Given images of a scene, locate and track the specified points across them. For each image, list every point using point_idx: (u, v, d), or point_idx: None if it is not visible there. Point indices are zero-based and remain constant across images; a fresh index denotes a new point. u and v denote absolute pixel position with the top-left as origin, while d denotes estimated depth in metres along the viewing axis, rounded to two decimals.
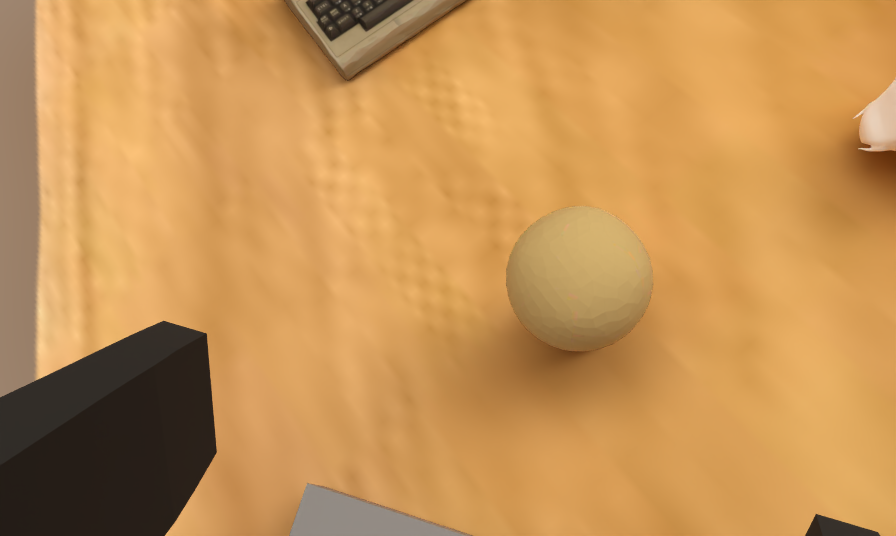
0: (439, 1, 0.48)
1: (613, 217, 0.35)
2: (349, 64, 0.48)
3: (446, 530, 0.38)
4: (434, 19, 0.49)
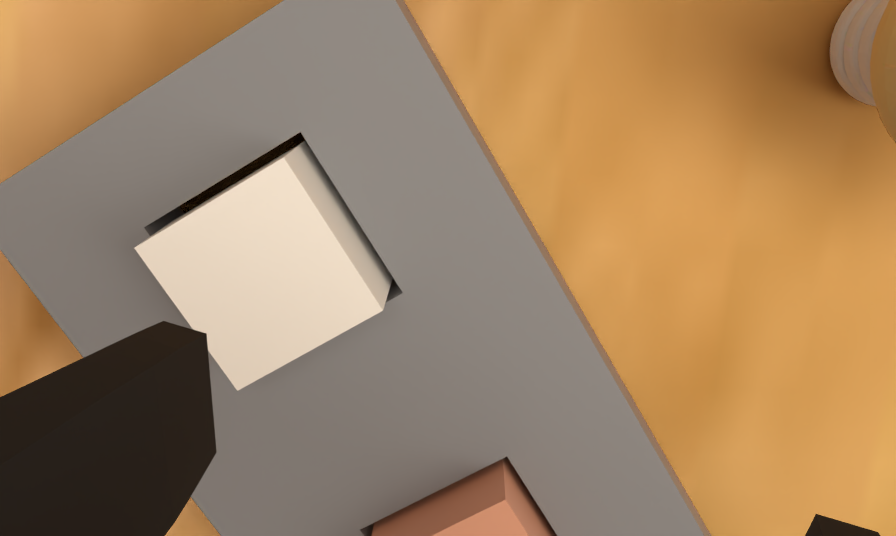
0: None
1: None
2: None
3: (494, 174, 0.24)
4: None
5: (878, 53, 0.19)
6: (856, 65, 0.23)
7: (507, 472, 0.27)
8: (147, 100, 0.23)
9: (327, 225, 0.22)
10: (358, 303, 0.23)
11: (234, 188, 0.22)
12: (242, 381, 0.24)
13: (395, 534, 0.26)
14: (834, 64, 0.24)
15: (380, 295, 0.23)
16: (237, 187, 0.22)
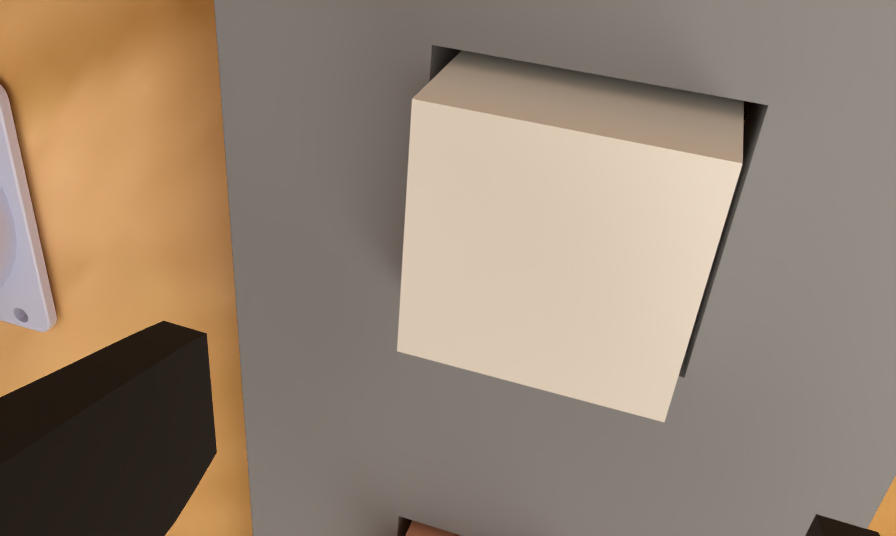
0: None
1: None
2: None
3: None
4: None
5: None
6: None
7: None
8: None
9: (704, 286, 0.13)
10: (642, 392, 0.14)
11: (628, 143, 0.12)
12: (412, 348, 0.15)
13: None
14: None
15: None
16: (634, 145, 0.12)
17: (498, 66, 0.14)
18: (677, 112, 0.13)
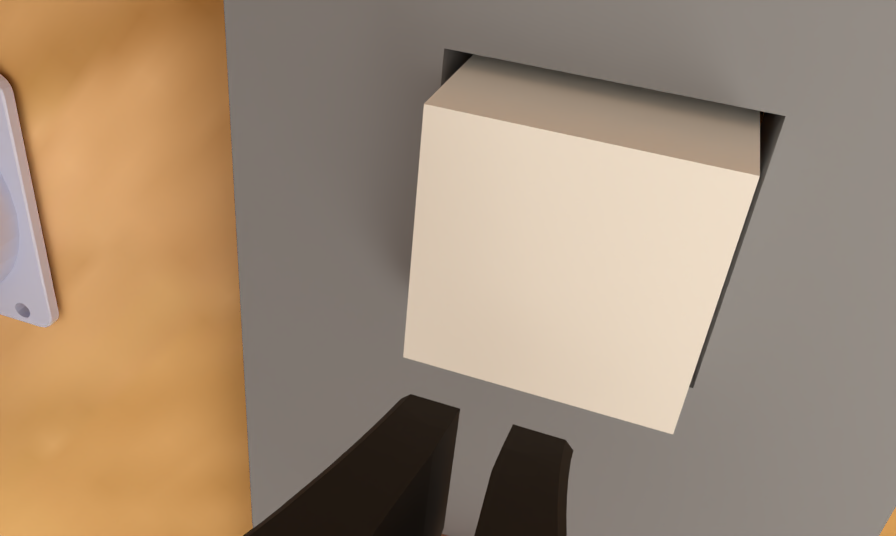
0: None
1: None
2: None
3: None
4: None
5: None
6: None
7: None
8: None
9: (717, 299, 0.13)
10: (651, 404, 0.14)
11: (643, 153, 0.12)
12: (419, 354, 0.15)
13: None
14: None
15: None
16: (649, 155, 0.12)
17: (511, 71, 0.14)
18: (693, 121, 0.13)
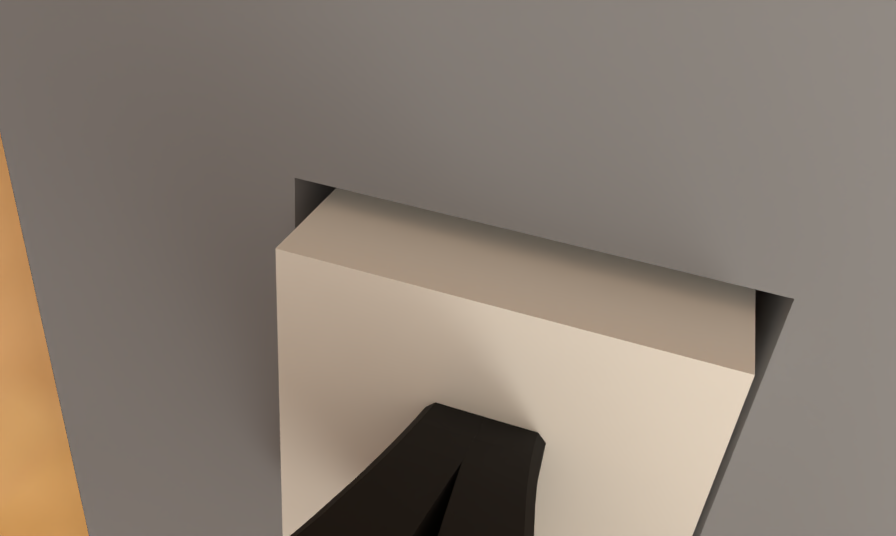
0: None
1: None
2: None
3: None
4: None
5: None
6: None
7: None
8: None
9: (695, 523, 0.09)
10: None
11: (585, 333, 0.08)
12: None
13: None
14: None
15: None
16: (592, 337, 0.08)
17: None
18: None
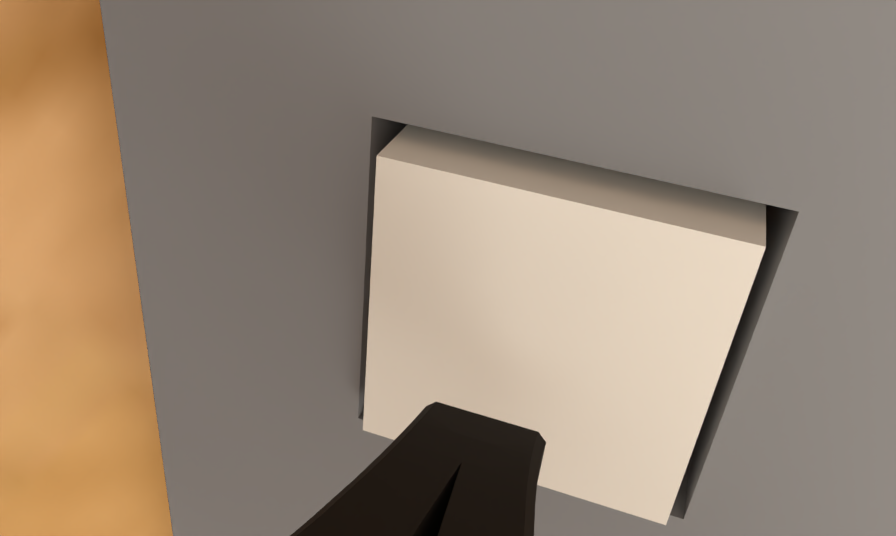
0: None
1: None
2: None
3: None
4: None
5: None
6: None
7: None
8: None
9: (717, 381, 0.11)
10: (641, 491, 0.12)
11: (630, 217, 0.10)
12: (380, 428, 0.13)
13: None
14: None
15: None
16: (636, 219, 0.10)
17: None
18: None
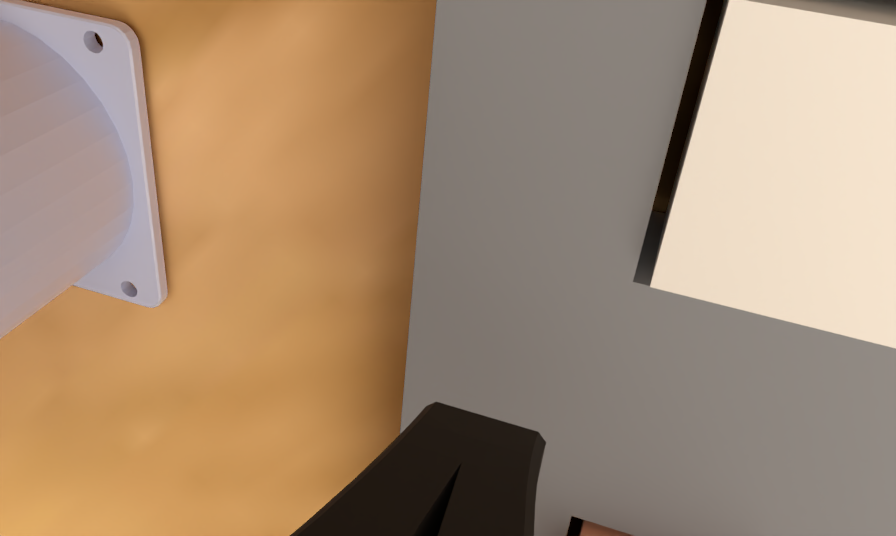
0: None
1: None
2: None
3: None
4: None
5: None
6: None
7: None
8: None
9: None
10: None
11: None
12: (669, 283, 0.14)
13: None
14: None
15: None
16: None
17: None
18: None
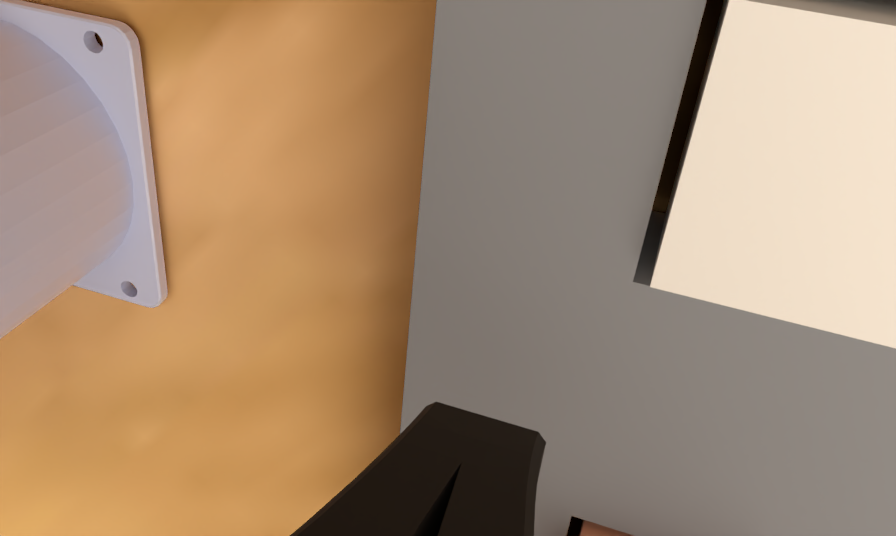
0: None
1: None
2: None
3: None
4: None
5: None
6: None
7: None
8: None
9: None
10: None
11: None
12: (669, 283, 0.14)
13: None
14: None
15: None
16: None
17: None
18: None
